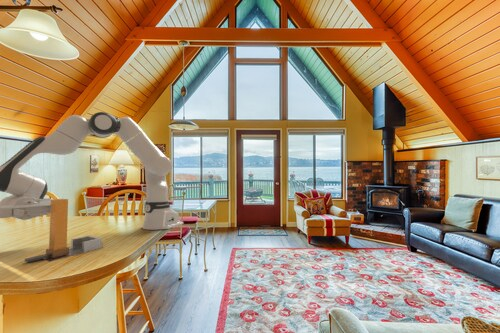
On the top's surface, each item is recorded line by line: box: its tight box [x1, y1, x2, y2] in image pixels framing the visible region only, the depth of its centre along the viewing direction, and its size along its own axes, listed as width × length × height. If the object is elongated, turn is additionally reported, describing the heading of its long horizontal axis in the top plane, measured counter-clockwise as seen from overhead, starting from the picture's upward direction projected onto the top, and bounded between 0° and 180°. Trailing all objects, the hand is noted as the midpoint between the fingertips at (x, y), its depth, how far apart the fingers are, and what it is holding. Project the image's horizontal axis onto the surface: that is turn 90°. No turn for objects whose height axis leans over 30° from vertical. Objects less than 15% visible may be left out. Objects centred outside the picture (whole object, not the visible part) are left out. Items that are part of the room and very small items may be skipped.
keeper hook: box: [70, 235, 103, 253], centre depth 91 cm, size 6×9×4 cm
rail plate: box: [42, 246, 104, 262], centre depth 86 cm, size 17×9×1 cm, turn 151°
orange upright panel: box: [24, 198, 70, 263], centre depth 80 cm, size 11×5×19 cm, turn 152°
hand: (41, 211), depth 89 cm, fingers open, 8 cm apart
